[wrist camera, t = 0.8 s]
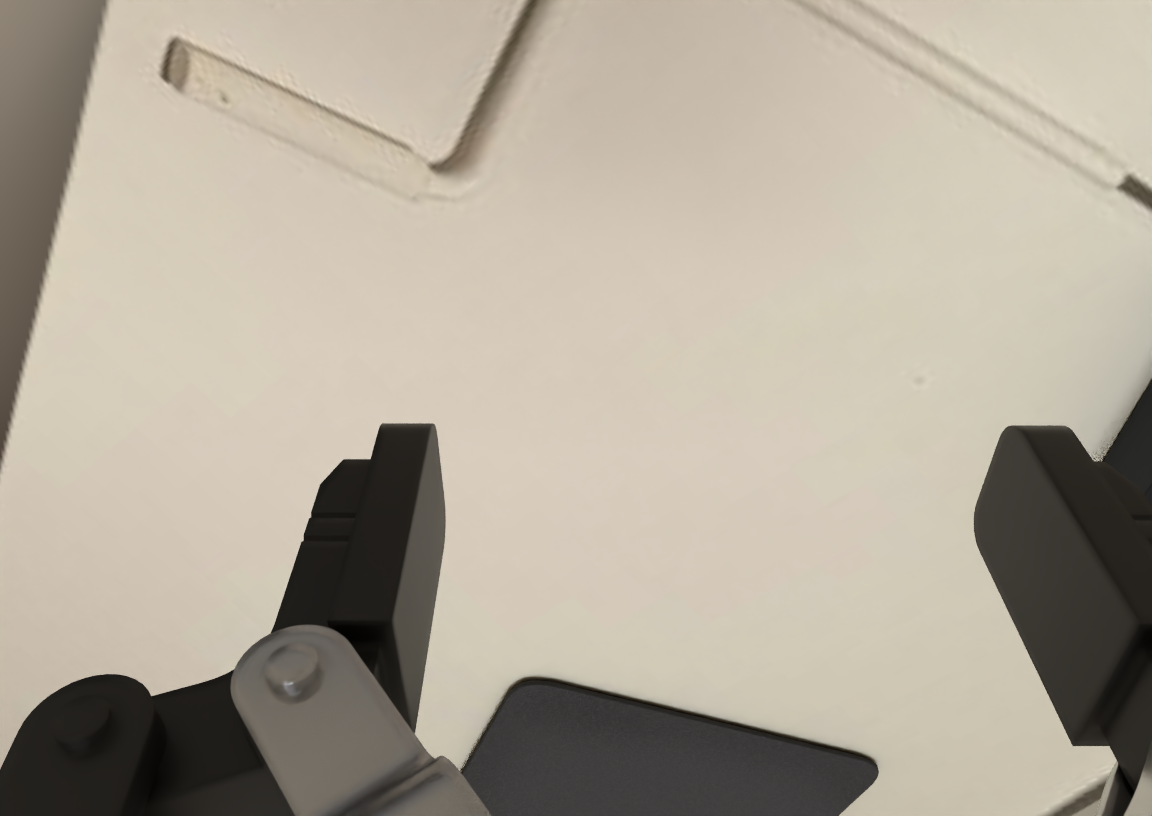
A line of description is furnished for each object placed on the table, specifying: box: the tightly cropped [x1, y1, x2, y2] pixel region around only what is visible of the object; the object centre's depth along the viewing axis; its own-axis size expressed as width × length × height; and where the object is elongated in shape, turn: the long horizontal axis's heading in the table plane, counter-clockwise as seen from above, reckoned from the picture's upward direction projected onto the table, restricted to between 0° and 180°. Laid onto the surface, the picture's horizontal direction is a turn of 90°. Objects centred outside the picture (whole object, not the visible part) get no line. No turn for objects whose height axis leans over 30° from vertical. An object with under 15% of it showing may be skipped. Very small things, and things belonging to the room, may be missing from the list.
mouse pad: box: [461, 680, 879, 816], centre depth 57 cm, size 23×20×1 cm
